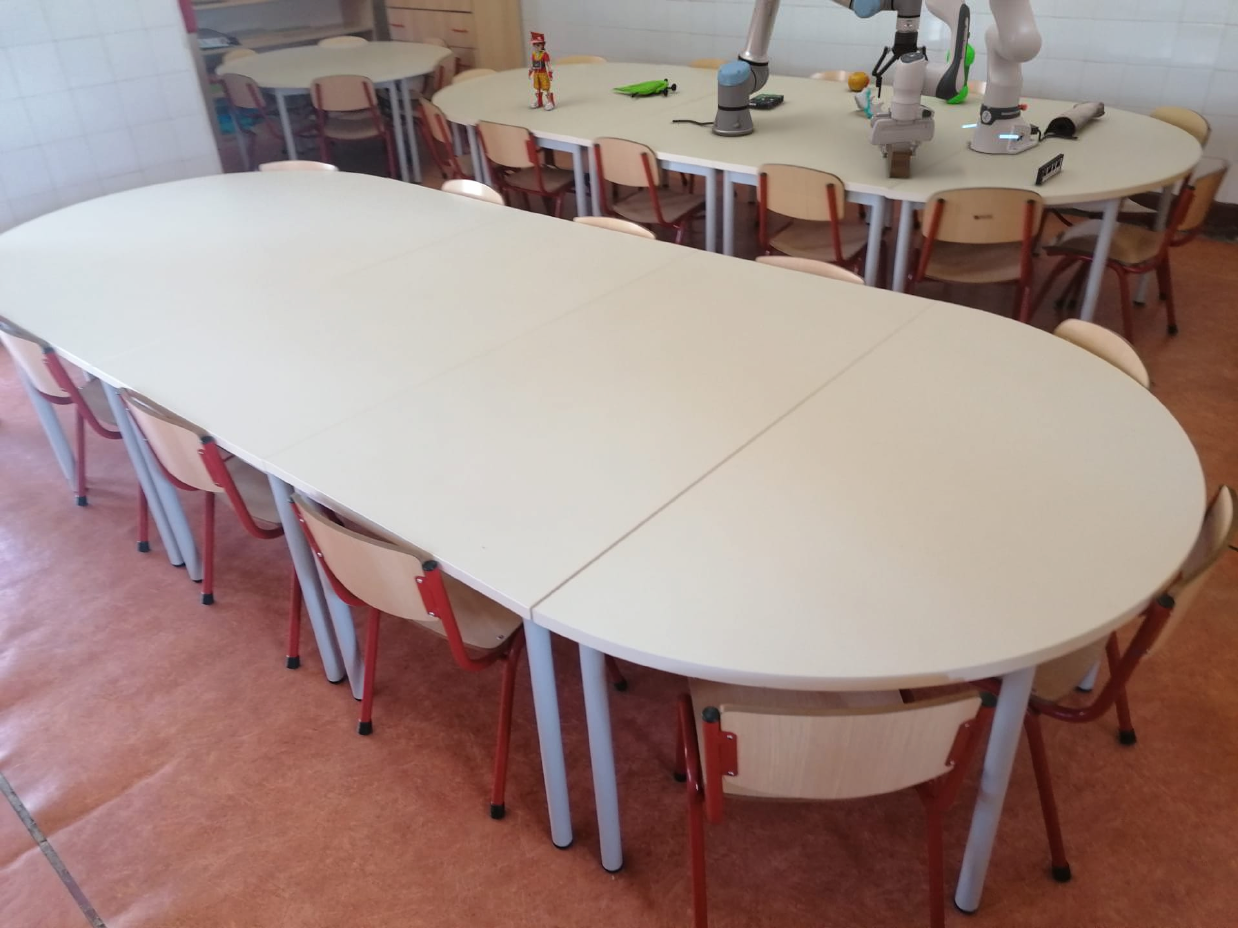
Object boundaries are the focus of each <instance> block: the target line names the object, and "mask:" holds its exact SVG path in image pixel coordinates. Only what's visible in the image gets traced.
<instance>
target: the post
mask: <svg viewBox="0 0 1238 928" xmlns="http://www.w3.org/2000/svg"><path fill="white" fill-rule="evenodd" d="M887 110H888V111H887V112H890V107H888V109H887ZM886 148H887V161H888V173H889V179H908V178H909V175H910V174H909V173H910V168H911V167H910V166H911V160H912V159H911V158H912V156H911V149H912V146H911V142H906V143H891V144H886Z"/></svg>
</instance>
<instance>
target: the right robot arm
mask: <svg viewBox="0 0 1238 928" xmlns="http://www.w3.org/2000/svg"><path fill="white" fill-rule="evenodd" d="M924 4H925V7H926V9H927V10H928V11H929V13H930V14H932V15H933V16H934V17H936V18H937V19H939V20H941V21H942V22H944V23H945V24H946V25H947V26H948V27H949V29H950V35H951V36H950V46H949V50H950V53H949V61H948V62H947V61H946V63H943V62H942V63H941V62H934V61H930V60H928V61H926V60H925V56H924V55H923V54H922V53H920V52H919V51H917V52H911V53H906V54H904V55H902V56H901V57H900V58H899V60H897V63H896V66H895V71H894V75H893V84H892V89H893V93H892V96H891V98H890V104H889V108H890V112H888V111H883V112H884V113H876V114H875V115H874V116H873V117H872V118H870V123H869V124H870V127H869V131H868V136H867V140H868V142H869V143H870V144H871V145H874V146H875V145H877V146H878V149H879V151H880V155H879V156H880V158H881V159H888V151H886V150H885V149H884V148H886V145H887V144H891V143H906V142H910V143H914V146H913V147H912V148H911V157H916V156H917V151H918V150H919V149H920V147H921V146H922V142H930V141H932V139H933V138H934V137H935V126H936V122H935V119H934V117H935V110H934V109H933V108H931V107H929V106H927V105H924V104H922V103H921V102H922V96H924V97H930V98H937V99H939V100H944V101H946V100H947V101H948V100H951V99H953V98H954V97H956V96H957V95H958V94H959V93H960V92H961V91H962V89H963V87H964V82H965V61H966V53H967V44H968V43H969V42H968V41H969V39H968V36H969V32H970V27H971V26H970V25H971V10H970V7H969V6H968V5H967V4H966V0H924ZM988 5H989V10H990V12H991V14H992V16H993V19H994V21H992V22H991V23H990V24H989V25H988V27H987V28H986V30H985V33H984V43H985V47H986V82H985V88H984V95H983V101H982V103H981V104H980V108H979V117H978V118H977V121H976V123H974V124H973V123H972V124H965V125H962V128H963V129H964V128H966V129H967V128H973V127H974V132H973V135H972V138H971V139H970V140H969V143H970V146H969V147H970V149H972V150H973V151H976V152H979V153H983V154H984V153H985V154H1006V155H1007V154H1008V155H1016V154H1018V153H1021V152H1024V151H1025V150H1029V149H1030V148H1033V147H1035V146H1037V145H1038V142H1042V141H1044V140H1045V139H1046V138H1051V137H1052V138H1053V137H1055V138H1063V139H1072V140H1078V136H1074V135H1073V136H1062V135H1056V134H1055V133H1048V134H1046V135H1043V137H1042V131H1041V130H1040V127H1039V126H1037V125H1034V124H1031V123H1029V122H1027V121H1026V120H1025V119H1024V117H1023V116H1022V115H1021V114H1022V112H1021V111H1023V112H1025V111H1026V110H1027V109H1028V105H1027V104H1026V103H1020V99H1021V94H1022V90H1023V84H1024V75H1023V71H1022V63H1028V62H1029V61H1032V60H1033V59H1035V58H1036V56H1037V55H1038V54H1039V53H1040V51H1041V49H1042V45H1043V38H1042V35H1041V34H1040V32H1039V30H1038V27H1037V24H1036V20H1035V19H1036V18H1035V15H1034V12H1033V9H1032V6H1031V1H1030V0H988ZM920 95H921V96H920ZM947 101H946V102H947ZM1034 135H1035V136H1036V135H1038V137H1037V140H1038V141H1036V140H1035V139H1033V138H1031V137H1032V136H1034Z"/></svg>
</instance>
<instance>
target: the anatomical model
mask: <svg viewBox="0 0 1238 928" xmlns="http://www.w3.org/2000/svg"><path fill="white" fill-rule="evenodd" d="M871 95H872V92H871V90H869V89H868V88H867V87H866V88H863V90H861V91H860V92H858V93H855V94H854V97H853V98H854V101H855V104H856V105H857V108H858V109H860V110H863V111H864V112H865V114H866V116H867V117H868V118H869V119H871V118H872V117H873V116H874V115H875V114H876V113H884V112H885V111H883V110H882V109H881V108H882V106H883V105H884V104H885V102H884V101H880V102H878V103H873V102H872V101H873V100H874V98H875V96H876V95H872V96H871ZM874 117H875V116H874Z"/></svg>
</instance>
